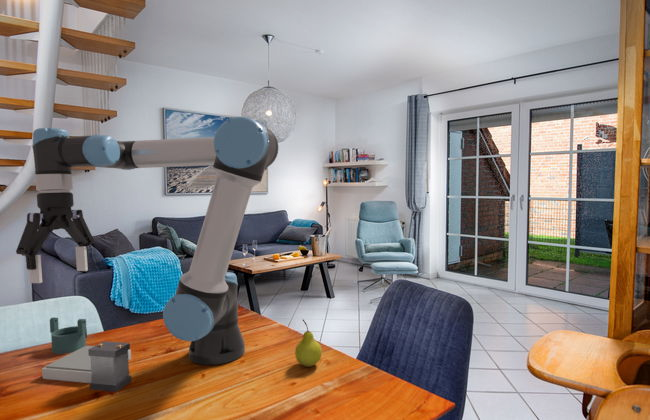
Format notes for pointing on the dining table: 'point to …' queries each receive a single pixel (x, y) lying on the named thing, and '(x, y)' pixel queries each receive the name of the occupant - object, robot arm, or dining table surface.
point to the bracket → (67, 336)
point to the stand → (72, 367)
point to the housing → (109, 366)
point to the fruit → (308, 350)
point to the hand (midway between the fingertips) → (60, 276)
